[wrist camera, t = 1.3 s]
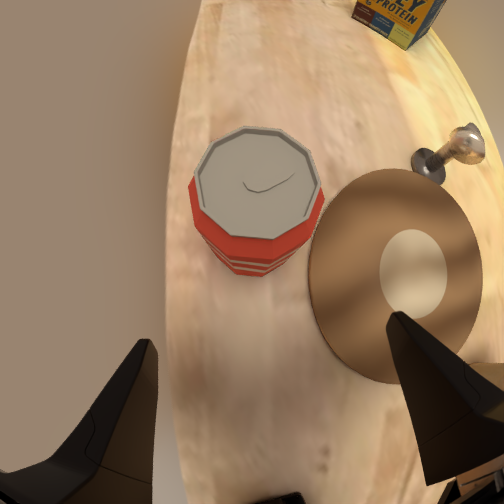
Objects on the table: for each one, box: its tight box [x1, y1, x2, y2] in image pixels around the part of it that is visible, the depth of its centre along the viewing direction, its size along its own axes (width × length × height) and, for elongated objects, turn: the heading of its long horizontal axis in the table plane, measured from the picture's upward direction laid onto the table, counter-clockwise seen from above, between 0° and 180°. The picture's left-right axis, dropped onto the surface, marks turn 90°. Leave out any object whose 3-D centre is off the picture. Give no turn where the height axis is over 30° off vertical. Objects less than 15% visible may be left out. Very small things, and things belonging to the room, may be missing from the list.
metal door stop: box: [411, 123, 485, 185], centre depth 20 cm, size 4×4×9 cm
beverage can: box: [188, 126, 325, 277], centre depth 17 cm, size 6×6×12 cm
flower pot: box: [469, 363, 504, 391], centre depth 16 cm, size 9×9×9 cm
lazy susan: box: [309, 169, 483, 384], centre depth 22 cm, size 20×20×1 cm
